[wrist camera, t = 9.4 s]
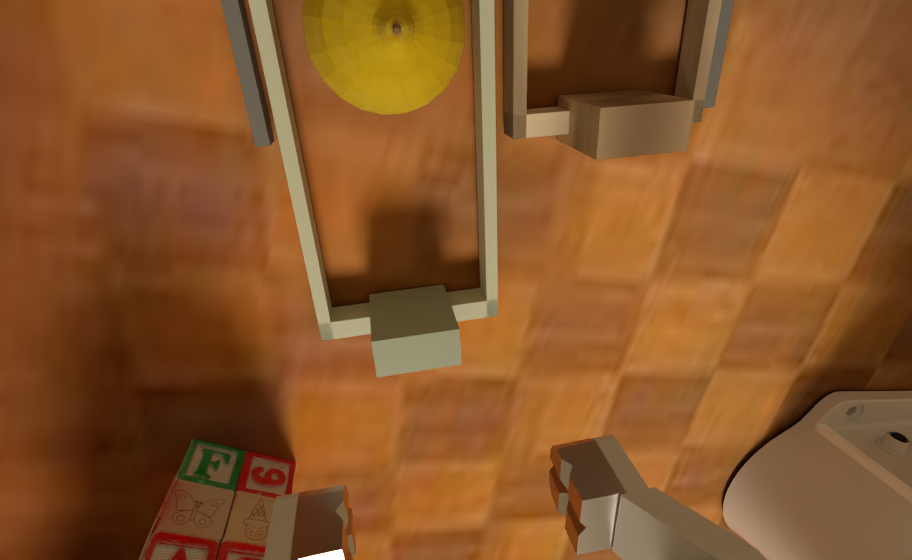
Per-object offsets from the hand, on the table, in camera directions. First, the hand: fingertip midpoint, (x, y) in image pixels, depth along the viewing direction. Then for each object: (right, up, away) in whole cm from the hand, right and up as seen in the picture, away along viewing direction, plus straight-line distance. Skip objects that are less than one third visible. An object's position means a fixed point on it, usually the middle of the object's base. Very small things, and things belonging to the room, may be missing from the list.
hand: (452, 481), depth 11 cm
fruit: (-3, +15, +9) cm, 18 cm away
